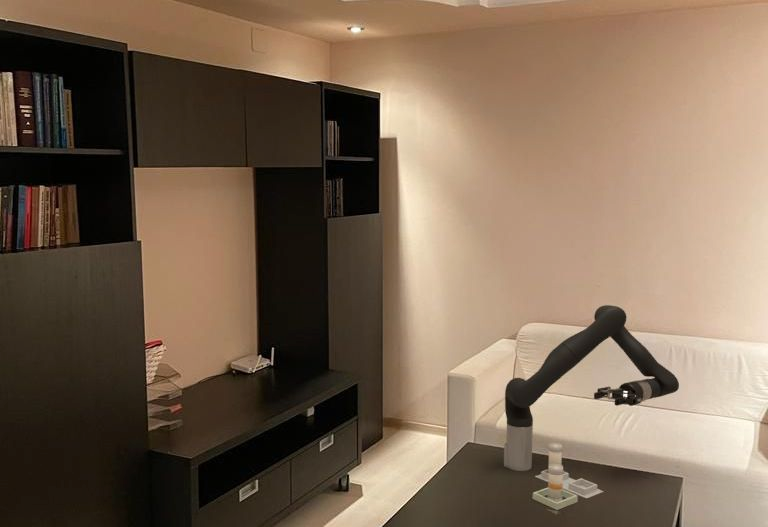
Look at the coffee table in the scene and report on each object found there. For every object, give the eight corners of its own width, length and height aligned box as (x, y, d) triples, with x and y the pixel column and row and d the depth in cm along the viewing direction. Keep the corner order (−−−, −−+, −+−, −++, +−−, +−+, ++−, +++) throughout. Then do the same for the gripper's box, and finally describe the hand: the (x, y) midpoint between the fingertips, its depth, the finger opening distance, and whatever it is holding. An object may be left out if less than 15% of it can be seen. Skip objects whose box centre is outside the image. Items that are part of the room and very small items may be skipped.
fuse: (546, 478, 250) (546, 445, 249) (550, 474, 254) (551, 441, 253) (559, 481, 248) (560, 447, 247) (563, 477, 252) (564, 443, 251)
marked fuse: (545, 503, 233) (546, 467, 231) (549, 498, 237) (550, 462, 235) (560, 506, 230) (561, 470, 229) (563, 500, 234) (564, 465, 233)
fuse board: (534, 480, 253) (535, 470, 252) (551, 474, 258) (552, 465, 258) (586, 502, 235) (586, 492, 235) (603, 495, 240) (603, 485, 240)
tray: (532, 503, 235) (532, 492, 234) (553, 495, 240) (553, 485, 240) (556, 514, 227) (557, 503, 226) (577, 506, 232) (577, 495, 232)
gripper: (618, 377, 258) (588, 383, 249) (653, 386, 247) (623, 393, 238) (617, 397, 259) (587, 404, 250) (652, 407, 248) (622, 415, 238)
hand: (605, 399), depth 244 cm, fingers open, 8 cm apart
